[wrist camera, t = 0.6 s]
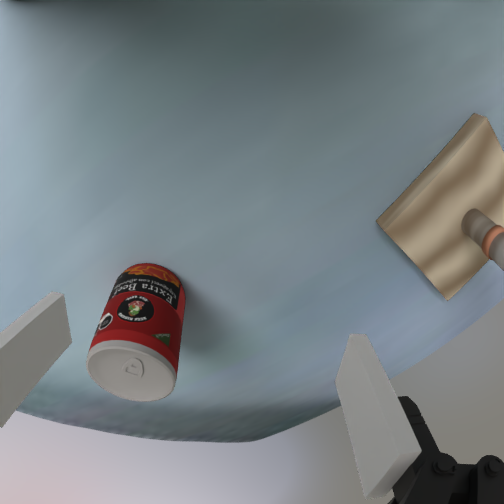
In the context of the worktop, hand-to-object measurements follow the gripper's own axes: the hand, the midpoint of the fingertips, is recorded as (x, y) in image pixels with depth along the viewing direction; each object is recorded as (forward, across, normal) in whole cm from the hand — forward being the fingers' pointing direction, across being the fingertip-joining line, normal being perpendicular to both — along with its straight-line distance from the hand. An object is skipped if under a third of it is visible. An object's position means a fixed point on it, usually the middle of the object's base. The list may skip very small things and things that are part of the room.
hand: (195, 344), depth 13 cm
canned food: (+18, -8, -7) cm, 20 cm away
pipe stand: (+18, +24, +6) cm, 31 cm away
